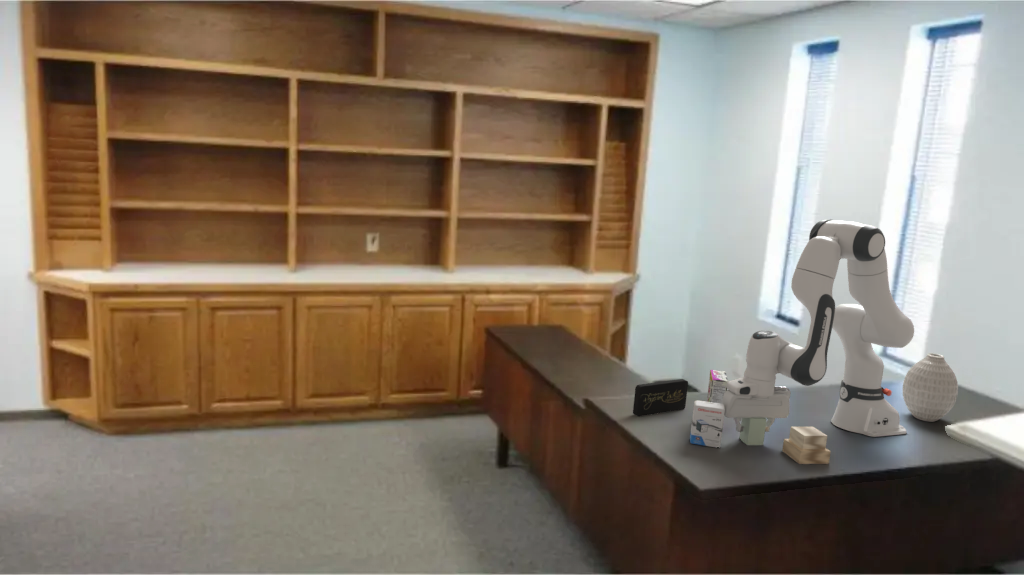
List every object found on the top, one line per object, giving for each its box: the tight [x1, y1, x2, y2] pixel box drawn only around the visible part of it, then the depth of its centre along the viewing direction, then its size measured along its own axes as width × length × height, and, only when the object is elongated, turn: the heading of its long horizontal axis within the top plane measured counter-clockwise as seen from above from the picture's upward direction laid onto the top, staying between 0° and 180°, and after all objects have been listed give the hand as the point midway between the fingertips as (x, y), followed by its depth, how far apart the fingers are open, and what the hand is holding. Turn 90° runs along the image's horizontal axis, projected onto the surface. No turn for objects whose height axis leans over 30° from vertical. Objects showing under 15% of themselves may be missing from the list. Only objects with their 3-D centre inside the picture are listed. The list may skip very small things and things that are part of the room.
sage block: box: [739, 418, 768, 446], centre depth 217 cm, size 5×5×8 cm
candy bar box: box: [706, 369, 729, 404], centre depth 228 cm, size 11×5×16 cm, turn 168°
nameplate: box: [632, 378, 689, 417], centre depth 238 cm, size 21×2×10 cm, turn 121°
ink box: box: [689, 399, 725, 449], centre depth 213 cm, size 9×5×12 cm, turn 77°
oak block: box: [781, 438, 831, 465], centre depth 209 cm, size 9×9×4 cm
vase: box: [902, 352, 959, 423], centre depth 250 cm, size 16×16×22 cm
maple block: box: [788, 426, 828, 450], centre depth 208 cm, size 7×7×4 cm
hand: (752, 431), depth 217 cm, fingers open, 7 cm apart
